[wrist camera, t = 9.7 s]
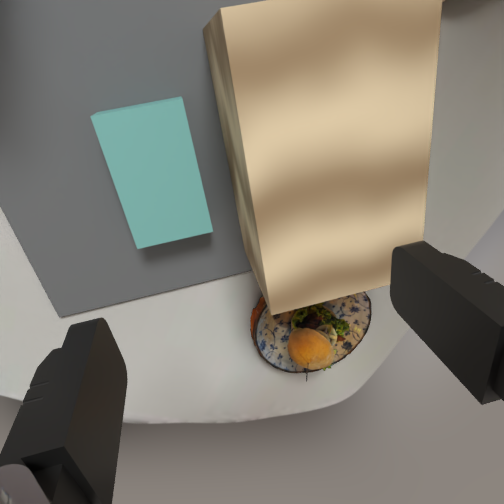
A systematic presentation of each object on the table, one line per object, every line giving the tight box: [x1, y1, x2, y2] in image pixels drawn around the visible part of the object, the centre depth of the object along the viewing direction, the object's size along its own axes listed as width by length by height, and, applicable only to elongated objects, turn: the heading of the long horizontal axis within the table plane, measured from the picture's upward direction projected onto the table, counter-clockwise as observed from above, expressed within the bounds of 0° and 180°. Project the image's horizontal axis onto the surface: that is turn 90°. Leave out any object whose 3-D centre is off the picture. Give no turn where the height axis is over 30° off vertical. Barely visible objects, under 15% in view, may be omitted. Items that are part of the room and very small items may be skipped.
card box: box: [90, 96, 213, 249], centre depth 25 cm, size 9×6×2 cm, turn 9°
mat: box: [0, 0, 266, 317], centre depth 26 cm, size 22×26×1 cm
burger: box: [250, 292, 371, 381], centre depth 32 cm, size 12×12×8 cm
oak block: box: [203, 0, 442, 315], centre depth 23 cm, size 16×10×9 cm, turn 9°
